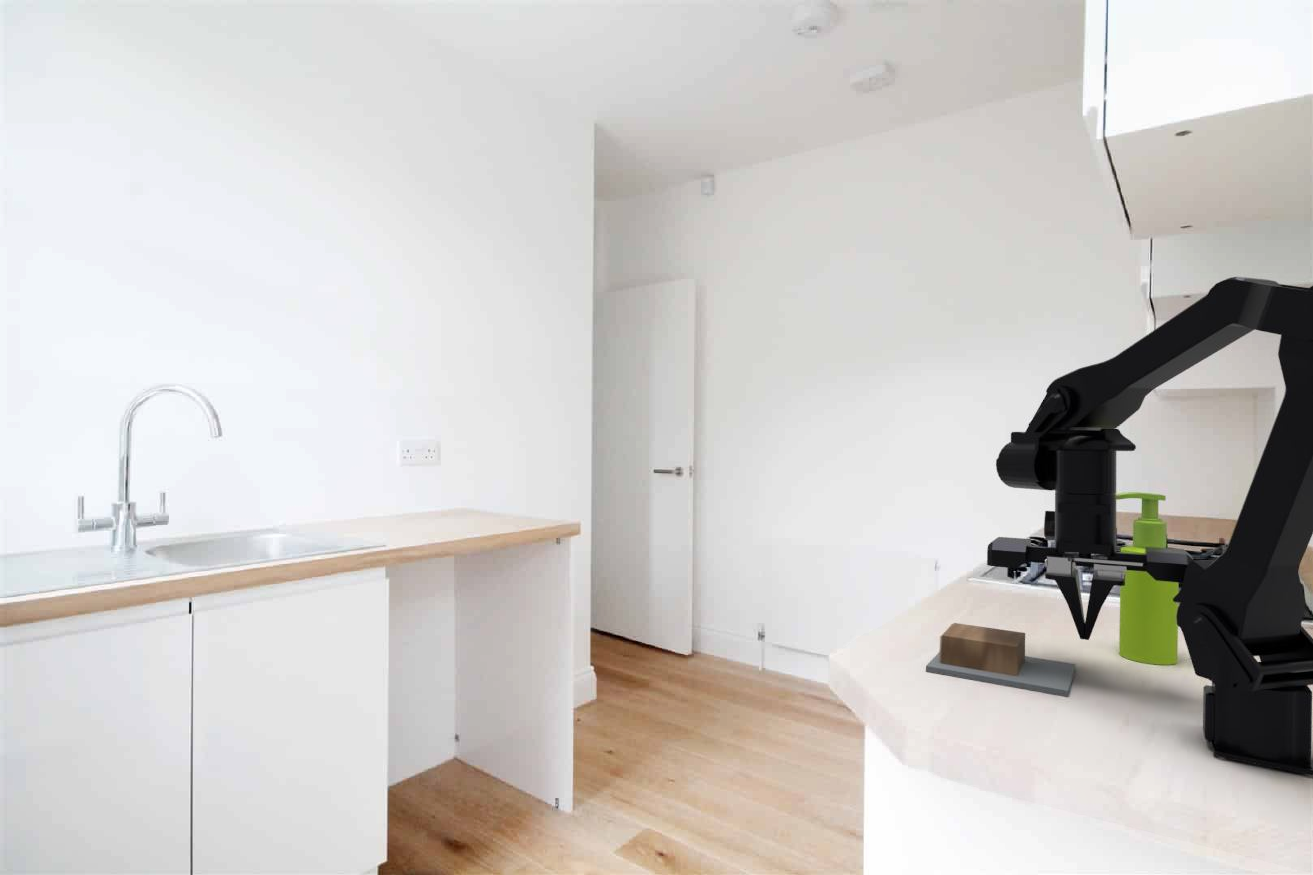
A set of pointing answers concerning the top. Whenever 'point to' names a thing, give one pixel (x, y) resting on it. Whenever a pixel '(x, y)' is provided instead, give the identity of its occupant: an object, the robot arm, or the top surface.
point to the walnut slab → (983, 648)
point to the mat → (1031, 675)
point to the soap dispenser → (1148, 595)
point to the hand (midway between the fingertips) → (1084, 638)
